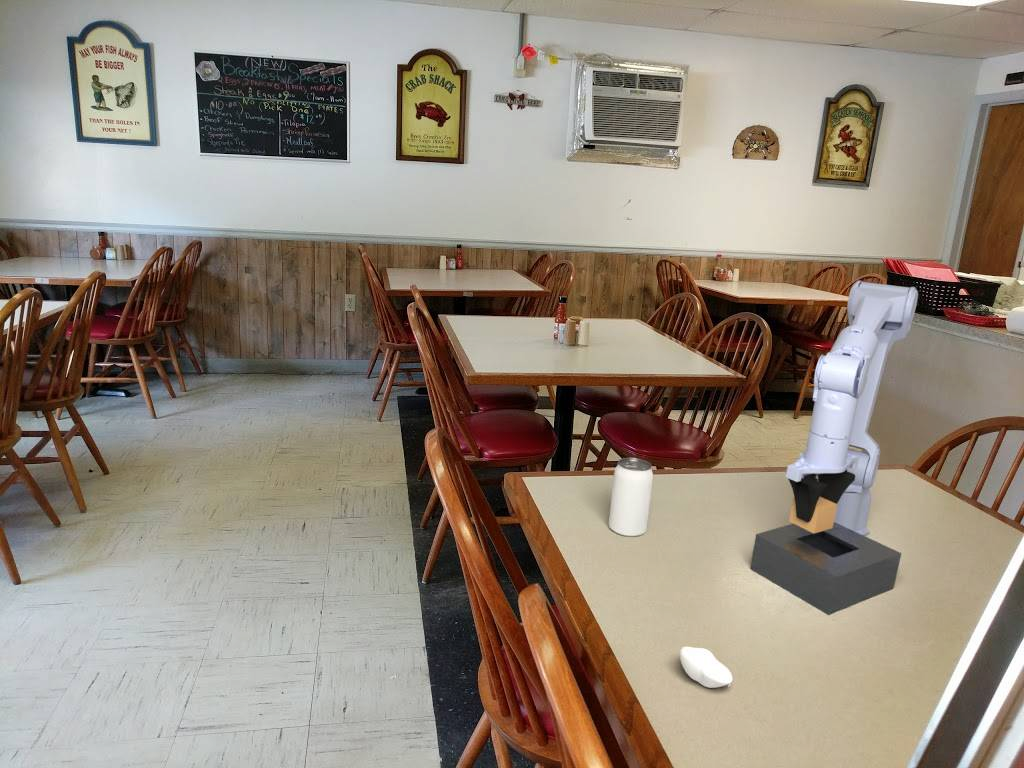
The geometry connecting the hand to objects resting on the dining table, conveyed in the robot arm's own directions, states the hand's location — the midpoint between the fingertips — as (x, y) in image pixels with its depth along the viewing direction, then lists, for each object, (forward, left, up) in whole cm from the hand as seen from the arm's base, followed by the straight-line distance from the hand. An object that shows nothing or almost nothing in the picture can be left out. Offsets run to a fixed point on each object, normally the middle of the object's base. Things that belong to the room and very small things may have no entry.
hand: (813, 516), depth 112 cm
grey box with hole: (-1, +3, -9) cm, 10 cm away
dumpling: (+34, +12, -10) cm, 38 cm away
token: (0, 0, -2) cm, 2 cm away
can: (+16, -23, -10) cm, 30 cm away
